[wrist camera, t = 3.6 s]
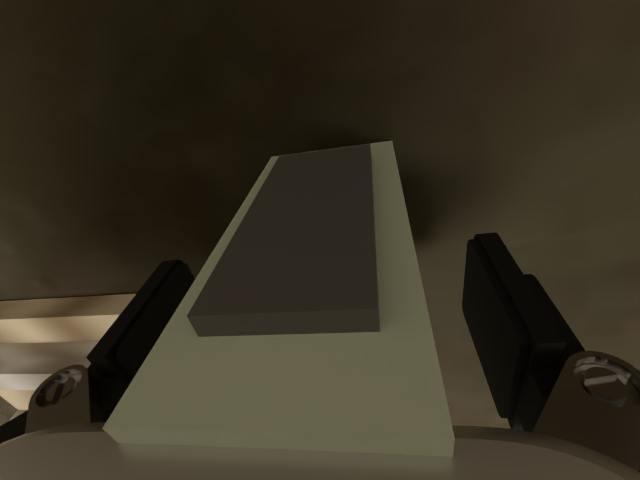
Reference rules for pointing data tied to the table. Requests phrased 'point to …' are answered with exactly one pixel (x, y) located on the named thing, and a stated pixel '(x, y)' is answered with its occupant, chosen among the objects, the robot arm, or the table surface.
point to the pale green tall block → (301, 324)
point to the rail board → (49, 339)
